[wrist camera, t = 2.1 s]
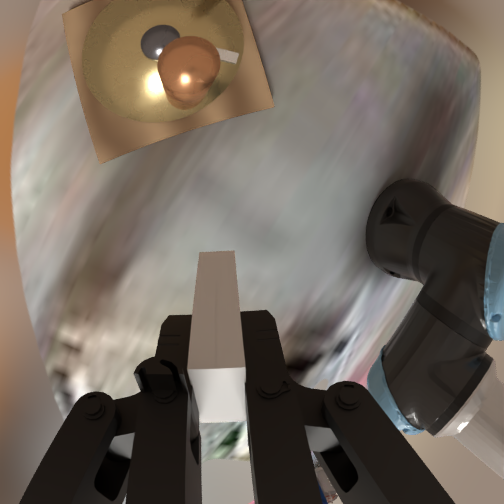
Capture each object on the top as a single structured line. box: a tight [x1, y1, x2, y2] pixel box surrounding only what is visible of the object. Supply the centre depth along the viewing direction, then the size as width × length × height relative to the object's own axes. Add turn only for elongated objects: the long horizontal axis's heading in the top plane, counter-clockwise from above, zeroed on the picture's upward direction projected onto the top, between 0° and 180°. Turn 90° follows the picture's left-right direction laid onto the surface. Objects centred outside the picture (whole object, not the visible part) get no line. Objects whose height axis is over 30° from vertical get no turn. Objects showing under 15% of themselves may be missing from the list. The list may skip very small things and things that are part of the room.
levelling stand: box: [62, 0, 274, 164], centre depth 26 cm, size 20×20×5 cm
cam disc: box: [82, 0, 244, 123], centre depth 20 cm, size 17×17×14 cm
